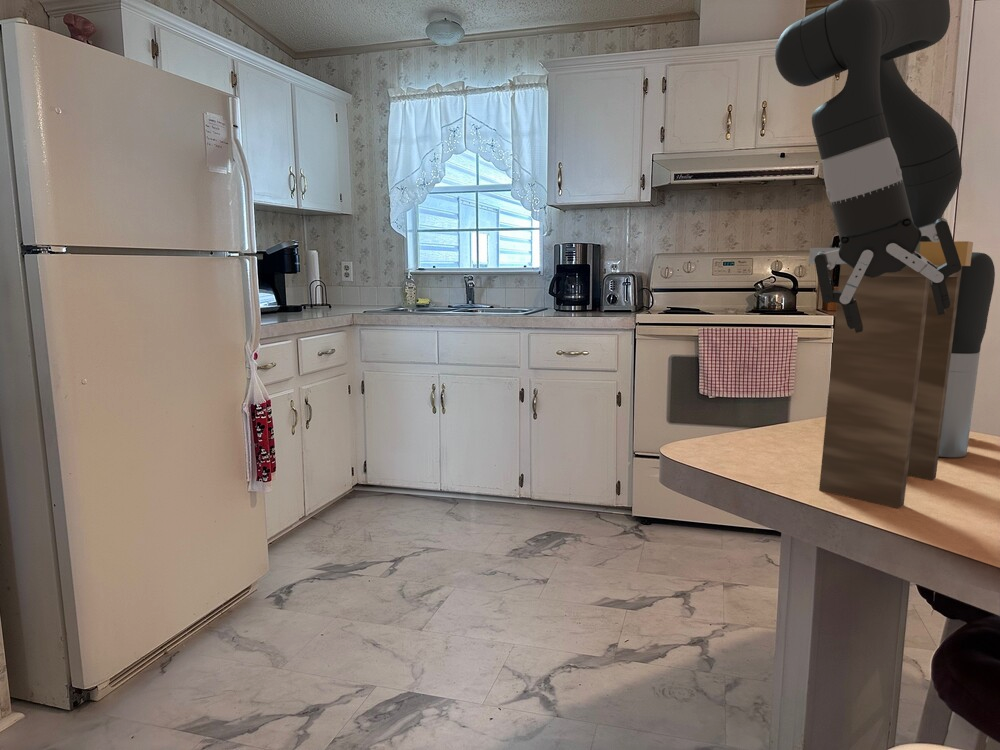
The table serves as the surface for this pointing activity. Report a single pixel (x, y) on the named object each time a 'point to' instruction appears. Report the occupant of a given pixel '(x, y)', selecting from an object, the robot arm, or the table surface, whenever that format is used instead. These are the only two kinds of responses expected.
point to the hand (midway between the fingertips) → (899, 322)
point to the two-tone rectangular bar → (927, 250)
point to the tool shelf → (887, 387)
